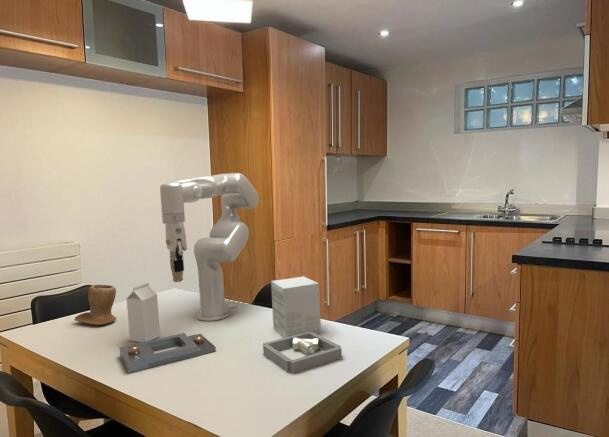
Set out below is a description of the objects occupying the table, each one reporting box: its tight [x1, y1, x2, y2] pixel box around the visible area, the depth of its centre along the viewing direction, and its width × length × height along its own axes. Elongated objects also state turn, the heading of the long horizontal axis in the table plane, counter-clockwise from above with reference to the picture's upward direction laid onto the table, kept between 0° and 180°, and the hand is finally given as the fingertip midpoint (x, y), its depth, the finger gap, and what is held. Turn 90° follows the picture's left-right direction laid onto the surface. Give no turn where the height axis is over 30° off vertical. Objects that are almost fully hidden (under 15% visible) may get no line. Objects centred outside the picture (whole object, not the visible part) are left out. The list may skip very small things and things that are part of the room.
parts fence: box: [262, 332, 343, 374], centre depth 132 cm, size 18×18×3 cm
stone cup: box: [73, 284, 117, 326], centre depth 174 cm, size 15×12×15 cm
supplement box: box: [270, 276, 322, 338], centre depth 154 cm, size 13×13×18 cm
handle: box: [165, 239, 184, 283], centre depth 154 cm, size 5×6×15 cm
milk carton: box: [126, 282, 161, 343], centre depth 152 cm, size 7×7×19 cm
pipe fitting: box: [292, 338, 321, 356], centre depth 135 cm, size 8×4×7 cm
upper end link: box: [118, 332, 198, 374], centre depth 137 cm, size 20×15×5 cm
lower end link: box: [148, 333, 216, 369], centre depth 140 cm, size 20×15×3 cm
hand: (177, 269), depth 154 cm, fingers closed on handle, 3 cm apart
